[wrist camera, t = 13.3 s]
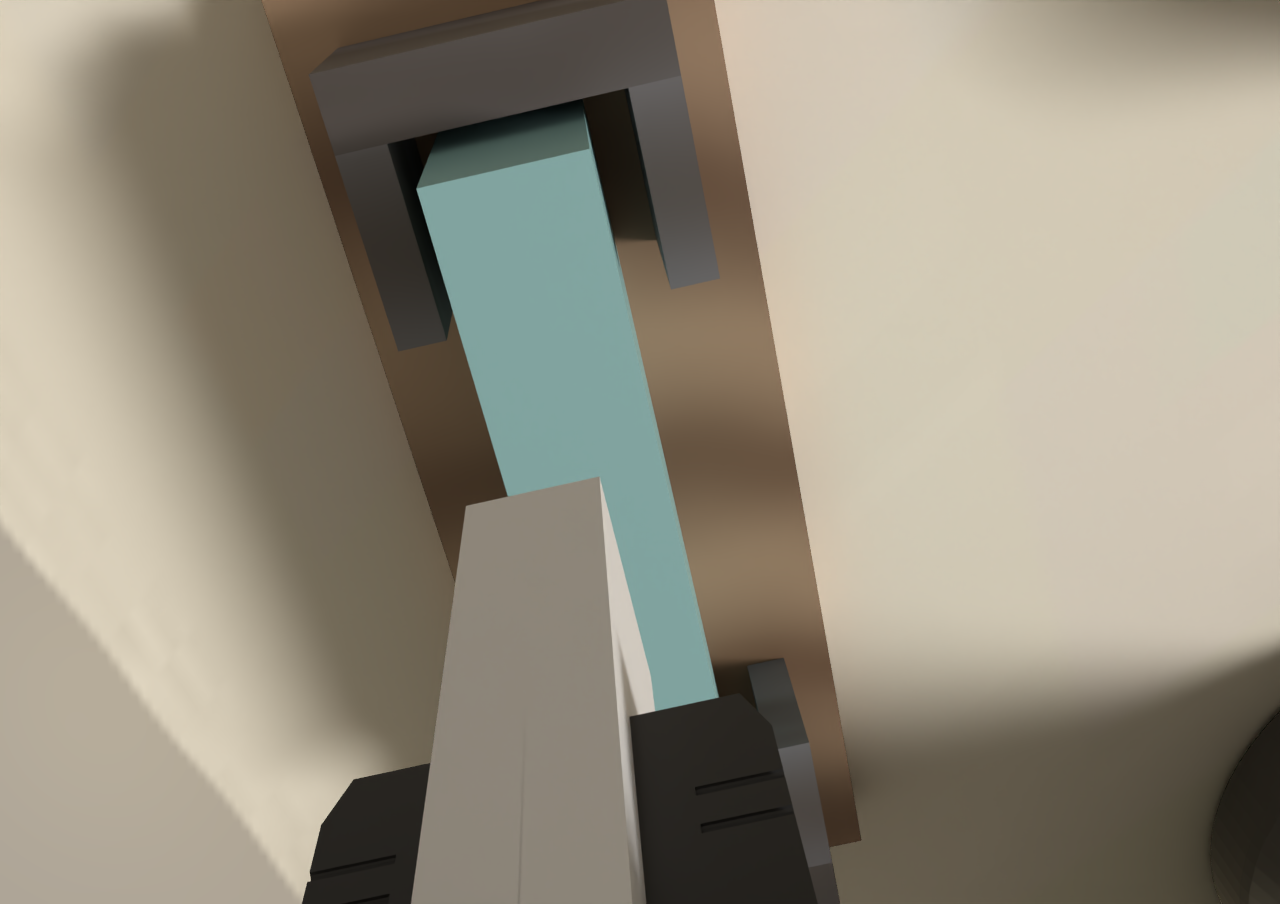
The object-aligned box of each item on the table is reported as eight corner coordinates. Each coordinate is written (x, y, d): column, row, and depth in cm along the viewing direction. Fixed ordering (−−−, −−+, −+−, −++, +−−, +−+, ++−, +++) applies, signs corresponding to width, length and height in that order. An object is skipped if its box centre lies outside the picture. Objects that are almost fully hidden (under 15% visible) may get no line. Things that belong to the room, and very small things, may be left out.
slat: (729, 741, 34) (764, 908, 28) (623, 764, 34) (638, 935, 29) (580, 88, 26) (590, 148, 21) (443, 120, 26) (416, 189, 21)
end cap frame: (850, 804, 37) (891, 934, 33) (561, 866, 37) (563, 1003, 33) (685, -120, 26) (715, -115, 21) (271, -22, 26) (214, 4, 21)
